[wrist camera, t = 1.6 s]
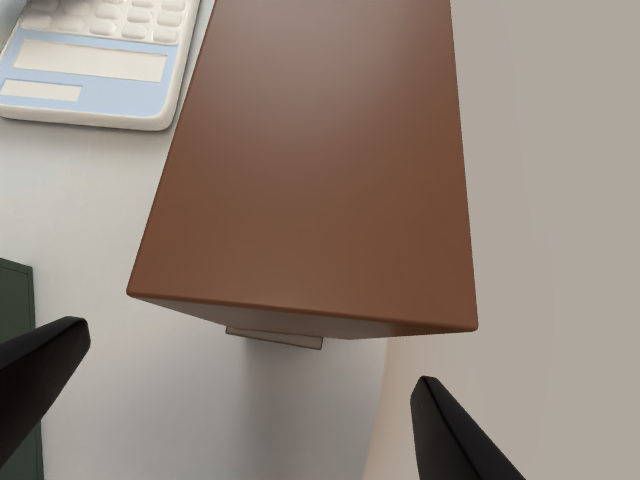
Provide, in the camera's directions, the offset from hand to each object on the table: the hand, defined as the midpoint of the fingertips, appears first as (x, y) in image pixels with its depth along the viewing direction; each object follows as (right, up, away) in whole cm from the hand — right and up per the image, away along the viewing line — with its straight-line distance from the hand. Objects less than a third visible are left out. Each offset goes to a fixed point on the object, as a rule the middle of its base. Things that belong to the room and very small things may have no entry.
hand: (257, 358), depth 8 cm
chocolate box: (+1, +4, +8) cm, 9 cm away
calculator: (-17, +21, +19) cm, 33 cm away
